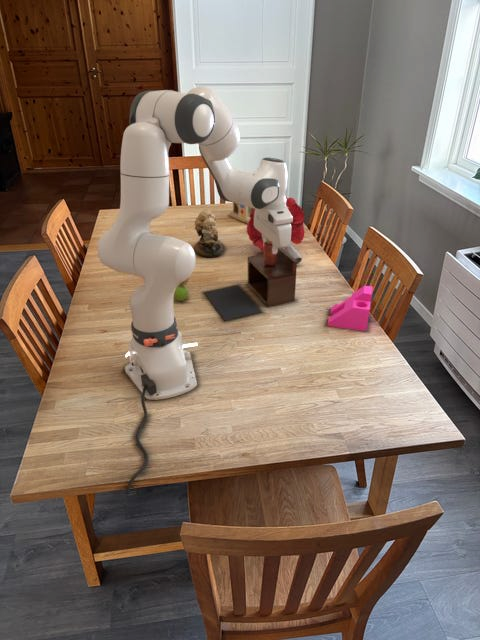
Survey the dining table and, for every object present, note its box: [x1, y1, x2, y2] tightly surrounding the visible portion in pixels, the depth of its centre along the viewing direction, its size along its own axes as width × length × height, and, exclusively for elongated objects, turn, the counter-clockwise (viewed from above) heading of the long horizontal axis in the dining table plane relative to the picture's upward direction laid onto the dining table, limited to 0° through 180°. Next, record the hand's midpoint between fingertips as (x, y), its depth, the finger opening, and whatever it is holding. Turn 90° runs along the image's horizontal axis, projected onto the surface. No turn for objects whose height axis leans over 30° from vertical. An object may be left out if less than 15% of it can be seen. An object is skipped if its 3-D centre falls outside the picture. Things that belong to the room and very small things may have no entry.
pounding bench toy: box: [229, 202, 253, 225], centre depth 229 cm, size 23×14×18 cm, turn 40°
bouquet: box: [246, 196, 306, 265], centre depth 195 cm, size 22×24×30 cm
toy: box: [263, 237, 276, 265], centre depth 165 cm, size 4×4×10 cm
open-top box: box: [247, 247, 298, 308], centre depth 170 cm, size 17×10×15 cm, turn 23°
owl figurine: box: [194, 209, 225, 258], centre depth 200 cm, size 18×12×17 cm, turn 10°
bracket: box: [327, 285, 373, 332], centre depth 156 cm, size 12×10×10 cm
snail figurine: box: [173, 277, 190, 302], centre depth 166 cm, size 5×6×12 cm
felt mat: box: [203, 284, 263, 322], centre depth 168 cm, size 20×13×1 cm, turn 23°
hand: (270, 250), depth 165 cm, fingers closed on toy, 4 cm apart
